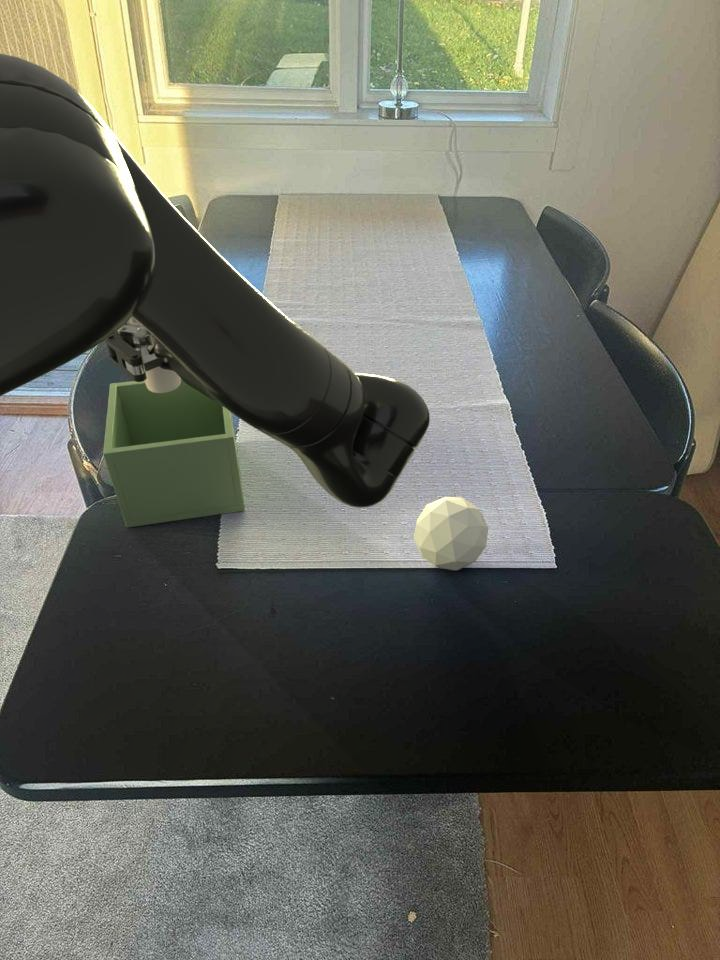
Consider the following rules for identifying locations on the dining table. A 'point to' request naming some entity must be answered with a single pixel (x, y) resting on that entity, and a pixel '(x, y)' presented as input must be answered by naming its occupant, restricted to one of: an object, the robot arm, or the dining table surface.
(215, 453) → the trash bin
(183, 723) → the dining table surface
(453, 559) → the geometric ball
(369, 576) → the dining table surface
